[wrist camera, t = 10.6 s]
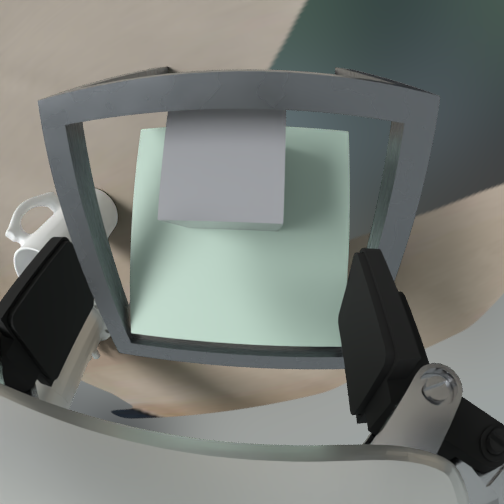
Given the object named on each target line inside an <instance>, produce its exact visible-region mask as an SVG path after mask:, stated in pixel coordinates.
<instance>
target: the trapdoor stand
mask: <svg viewBox="0 0 504 504" xmlns="http://www.w3.org/2000/svg"><path fill="white" fill-rule="evenodd" d="M439 101H440V96H438V95H435V94H433V93H430V92H427V91H424V90H421V89H418V88H416V87H412V86H409V85H406V84H403V83H400V82H397V81H393V80H390V79H387V78H383V77H379V76H375V75H371V74H368V73H364V72H360V71H356V70H351V69H343V68H335V75H334V74H324V73H313V72H301V71H285V70H208V71H192V72H179V73H169V74H168V67H160V68H152V69H147V70H142V71H137V72H133V73H128V74H124V75H120V76H116V77H112V78H108V79H104V80H100V81H96V82H93V83H89V84H86V85H83V86H79V87H76V88H73V89H70V90H67V91H64V92H61V93H58V94H55V95H52V96H49V97H47V98H44V99H41V100H39V101H38V106H39V112H40V119H41V124H42V130H43V135H44V141H45V146H46V150H47V155H48V159H49V164H50V168H51V172H52V176H53V180H54V184H55V188H56V192H57V195H58V199H59V202H60V206H61V209H62V213H63V216H64V219H65V222H66V225H67V229H68V232H69V235H70V238H71V241H72V243H73V246H74V249H75V251H76V254H77V257H78V260H79V262H80V265H81V268H82V270H83V273H84V275H85V278H86V281H87V283H88V286H89V288H90V290H91V293H92V295H93V298H94V300H95V303H96V305H97V307H98V310H99V312H100V314H101V316H102V318H103V321H104V323H105V325H106V327H107V329H108V331H109V333H110V335H111V338H112V340H113V342H114V344H115V346H116V348H117V350H118V352H119V353H124V354H130V355H137V356H143V357H150V358H157V359H165V360H173V361H181V362H190V363H200V364H211V365H223V366H236V367H253V368H276V369H345V365H344V358H343V352H342V345H341V347H312V346H272V345H250V344H233V343H219V342H206V341H195V340H185V339H175V338H166V337H157V336H149V335H141V334H134V333H131V316H130V303H129V304H128V301H127V299H126V296H125V293H124V290H123V287H122V284H121V281H120V278H119V275H118V272H117V268H116V265H115V262H114V259H113V256H112V252H111V249H110V245H109V242H108V238H107V235H106V231H105V227H104V224H103V220H102V216H101V212H100V208H99V204H98V200H97V196H96V191H95V187H94V182H93V178H92V173H91V168H90V163H89V158H88V153H87V147H86V142H85V136H84V130H83V123H82V122H84V121H90V120H96V119H102V118H109V117H117V116H125V115H133V114H142V113H153V112H165V111H179V110H199V109H277V110H297V111H311V112H324V113H334V114H343V115H352V116H360V117H368V118H375V119H381V120H388V121H391V129H390V135H389V142H388V148H387V154H386V160H385V166H384V171H383V177H382V182H381V187H380V192H379V197H378V202H377V207H376V211H375V216H374V220H373V224H372V229H371V233H370V237H369V241H368V245H367V248H373V249H380V250H381V251H382V254H383V256H384V258H385V261H386V263H387V265H388V268H389V270H390V273H391V275H392V278H393V280H395V278H396V275H397V272H398V269H399V266H400V263H401V260H402V257H403V254H404V251H405V248H406V245H407V242H408V239H409V235H410V232H411V229H412V225H413V222H414V219H415V215H416V211H417V208H418V204H419V200H420V197H421V193H422V189H423V185H424V180H425V176H426V172H427V168H428V163H429V158H430V153H431V149H432V144H433V138H434V133H435V127H436V121H437V115H438V108H439Z"/></svg>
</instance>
